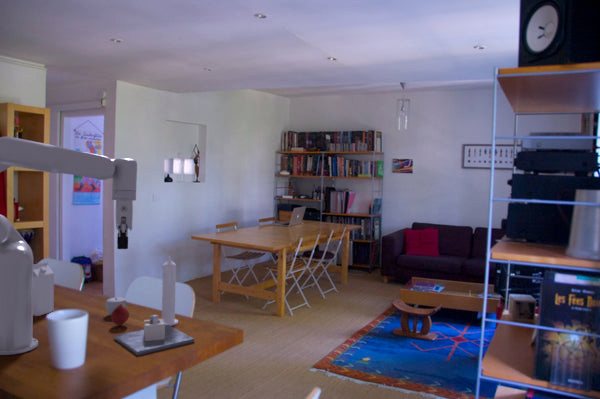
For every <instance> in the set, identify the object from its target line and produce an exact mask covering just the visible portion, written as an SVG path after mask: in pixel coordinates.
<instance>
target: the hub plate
mask: <svg viewBox="0 0 600 399" xmlns="http://www.w3.org/2000/svg"><path fill="white" fill-rule="evenodd" d="M158 319H159V314H152V315H150V316H149V320H150V324H157V323H158ZM113 338H114V341H116V342H117V343H119V344H120V345H122V346H124V348H126V349H127V350H129V351H130V352H131V353H133V354H134V355H136V356H143V355H147V354H150V353H154V352H159V351H162V350H163V351H164V350H167V349H171V348H175V347H179V346H184V344H185V345H188V343H189V344H193V343H194V342H195V338H193V337H192V336H190V335H189V334H186V333H184V332H183V331H181V330H179V329H178V328H175V327H173V326H170V325H165V339H162V340H151V341H145V338H144V329H141V330H135V331H131V332H126V333H121V334H120V333H119V334H116V335H114V337H113ZM192 342H193V343H192Z"/></svg>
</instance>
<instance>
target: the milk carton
mask: <svg viewBox="0 0 600 399" xmlns="http://www.w3.org/2000/svg"><path fill="white" fill-rule="evenodd" d="M54 294H55V272H54V271H53V270H52V268H51V267H50V266H49V264H48V261H45V262H40V263H35V264H34V263H33V317H34V316H35V317H39V316H42V315H46V314H49V313H50V314H51V313H53V312H55V311H54V310H55V308H54V307H55V306H54V304H55V303H54V301H55V300H54V297H55V295H54ZM52 311H53V312H52Z"/></svg>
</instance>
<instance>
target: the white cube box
mask: <svg viewBox="0 0 600 399" xmlns="http://www.w3.org/2000/svg"><path fill="white" fill-rule="evenodd" d="M143 330H144V338H145V341H151V340H162V339H165V323H164V320H163V319H162V318H158V323H157V324H150V319H144V320H143Z"/></svg>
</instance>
